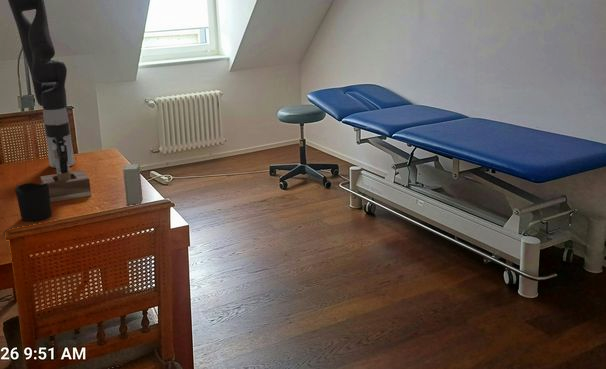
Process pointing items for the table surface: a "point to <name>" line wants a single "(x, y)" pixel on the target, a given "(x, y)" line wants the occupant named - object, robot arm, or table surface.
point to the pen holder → (33, 201)
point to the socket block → (67, 186)
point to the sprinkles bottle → (60, 175)
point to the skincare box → (132, 184)
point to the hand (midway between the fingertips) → (63, 170)
